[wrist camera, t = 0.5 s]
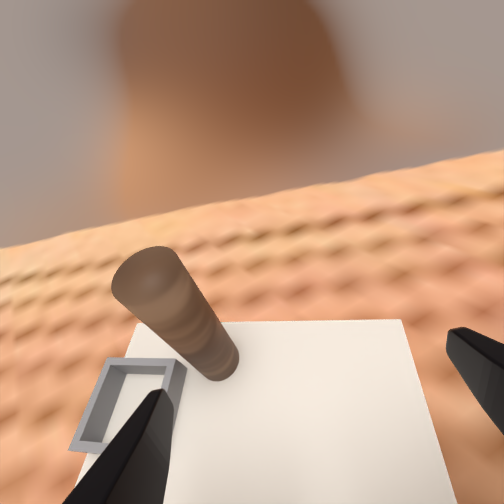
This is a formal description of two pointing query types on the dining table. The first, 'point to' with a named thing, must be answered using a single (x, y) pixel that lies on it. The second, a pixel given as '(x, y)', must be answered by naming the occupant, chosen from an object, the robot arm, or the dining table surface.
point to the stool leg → (175, 310)
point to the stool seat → (283, 417)
